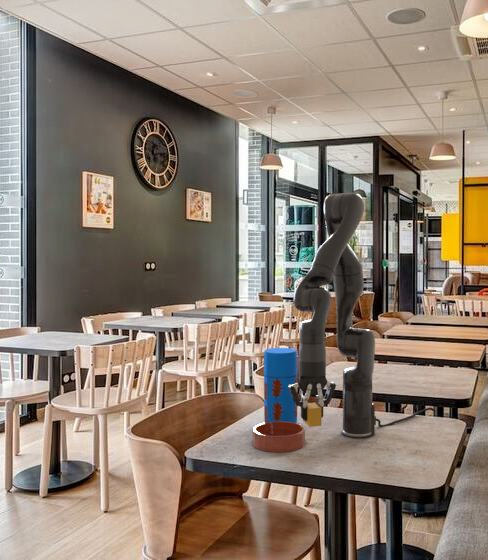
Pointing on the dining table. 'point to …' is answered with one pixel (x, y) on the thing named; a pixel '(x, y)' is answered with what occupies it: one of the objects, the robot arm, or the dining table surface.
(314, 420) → the sponge
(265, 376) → the thermos
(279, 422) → the bowl
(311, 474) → the dining table surface
